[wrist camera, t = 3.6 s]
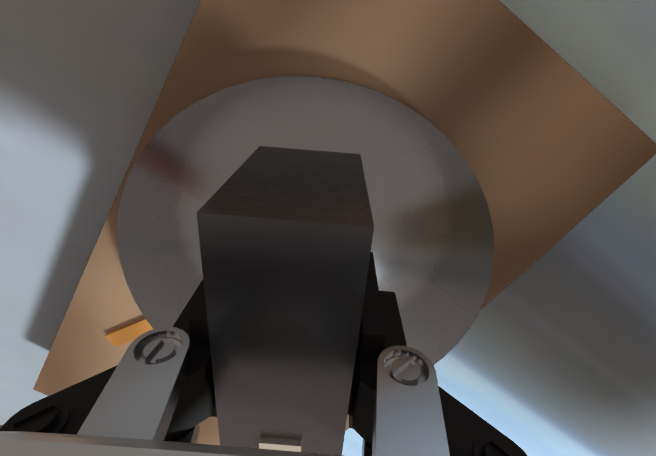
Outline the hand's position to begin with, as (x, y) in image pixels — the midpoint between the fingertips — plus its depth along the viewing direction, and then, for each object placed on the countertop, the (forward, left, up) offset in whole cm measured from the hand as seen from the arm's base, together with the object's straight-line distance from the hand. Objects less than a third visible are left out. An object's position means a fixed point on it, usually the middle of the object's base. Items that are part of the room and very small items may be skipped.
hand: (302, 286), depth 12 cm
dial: (0, 0, -2) cm, 2 cm away
